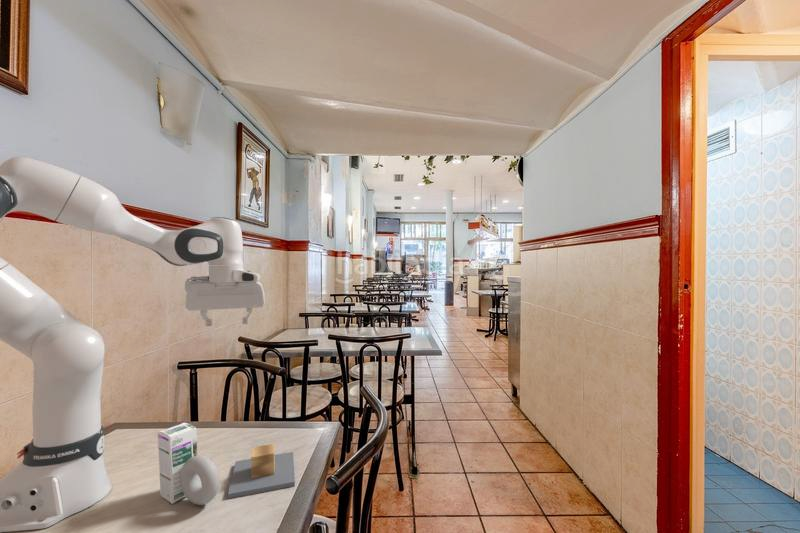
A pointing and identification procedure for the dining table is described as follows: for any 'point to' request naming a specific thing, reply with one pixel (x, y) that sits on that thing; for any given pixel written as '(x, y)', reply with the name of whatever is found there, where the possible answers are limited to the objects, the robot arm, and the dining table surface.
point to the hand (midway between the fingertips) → (227, 324)
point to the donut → (191, 482)
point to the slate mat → (248, 485)
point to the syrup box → (175, 458)
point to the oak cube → (262, 461)
